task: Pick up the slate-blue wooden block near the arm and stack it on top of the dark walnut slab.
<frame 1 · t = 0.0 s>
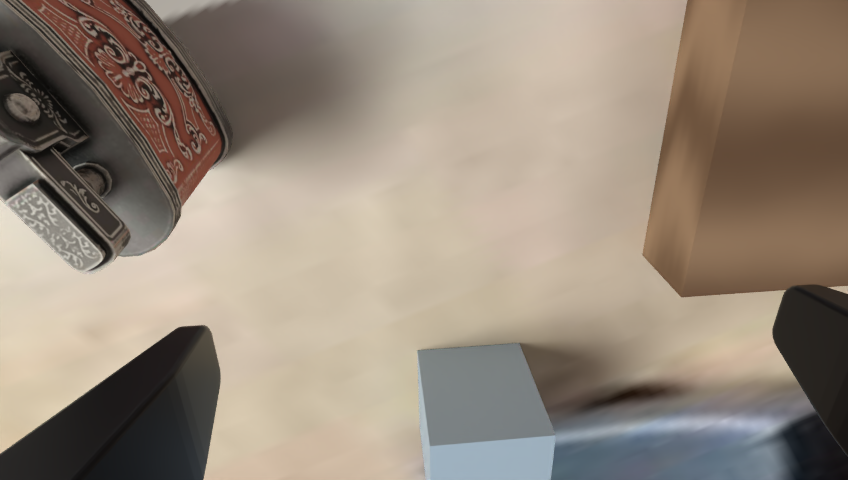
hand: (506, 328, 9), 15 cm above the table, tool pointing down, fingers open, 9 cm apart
slate block: (467, 385, 28), on the table
walnut slab: (796, 117, 24), on the table
lighter: (147, 69, 20), on the table
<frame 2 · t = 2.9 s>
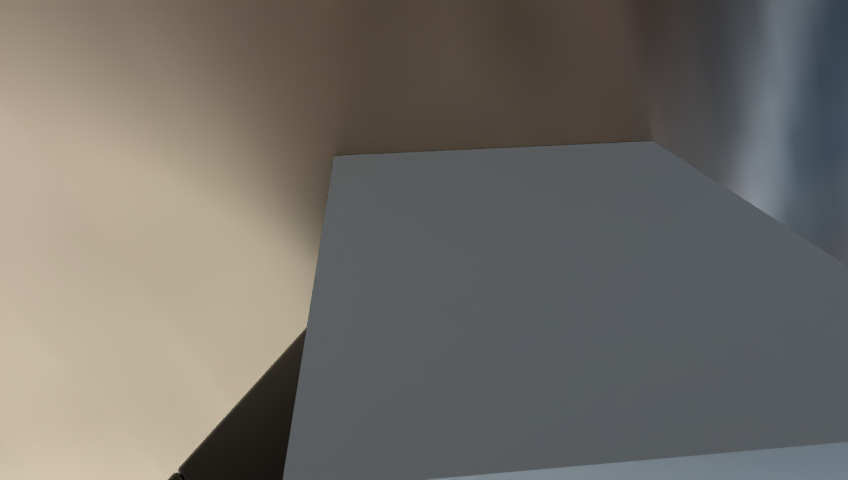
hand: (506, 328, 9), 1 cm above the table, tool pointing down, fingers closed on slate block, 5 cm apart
slate block: (491, 286, 10), on the table, touching gripper
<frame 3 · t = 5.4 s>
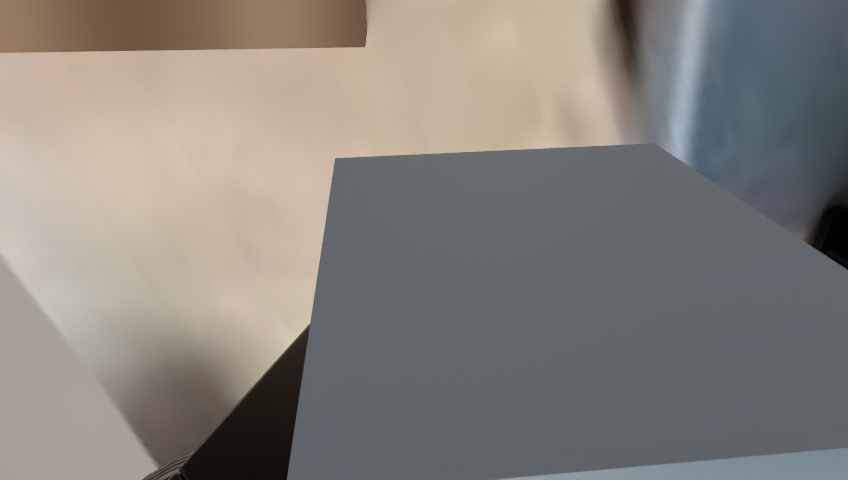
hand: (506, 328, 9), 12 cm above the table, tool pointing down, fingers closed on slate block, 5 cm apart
slate block: (492, 288, 10), point 11 cm above the table, touching gripper
lighter: (199, 477, 27), on the table
when the fingers open (7 cm above the table, at t = 8.3 s): slate block drops 2 cm, resting on walnut slab.
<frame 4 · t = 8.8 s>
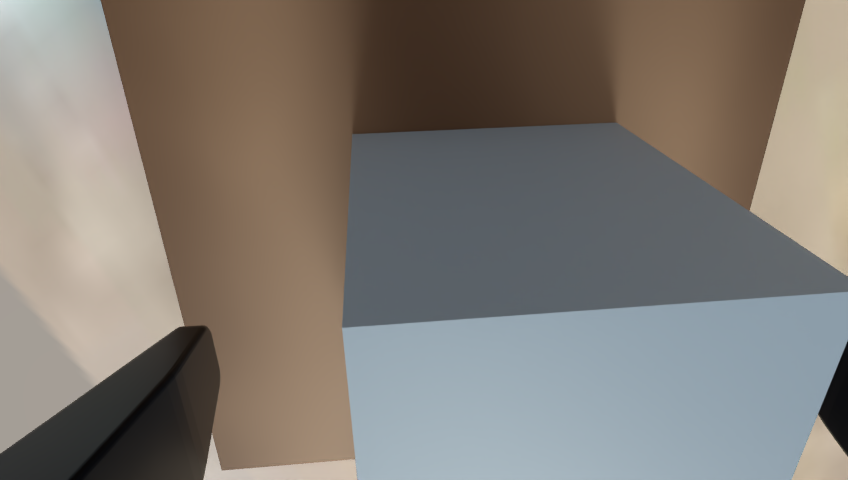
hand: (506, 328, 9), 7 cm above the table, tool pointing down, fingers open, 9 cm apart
slate block: (482, 246, 12), point 4 cm above the table, touching walnut slab
walnut slab: (443, 172, 15), on the table, touching slate block
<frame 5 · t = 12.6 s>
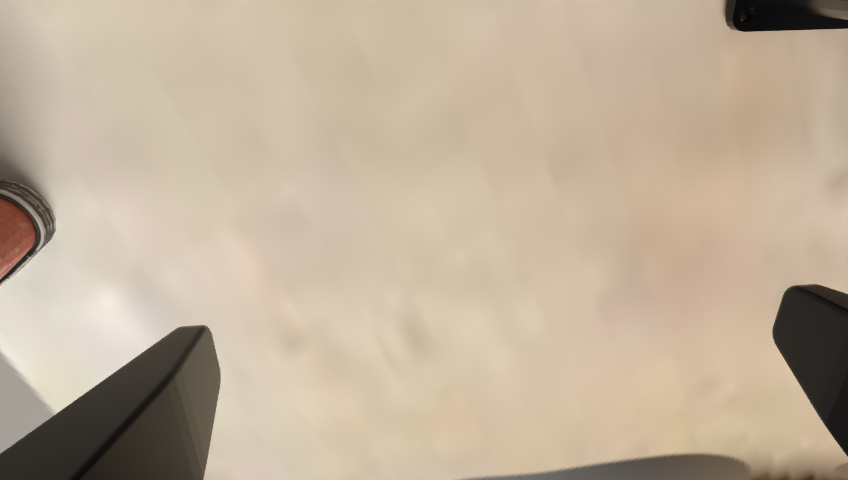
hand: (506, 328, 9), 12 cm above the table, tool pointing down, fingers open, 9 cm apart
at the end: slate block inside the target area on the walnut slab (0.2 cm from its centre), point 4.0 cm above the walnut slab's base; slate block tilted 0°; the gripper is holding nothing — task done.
